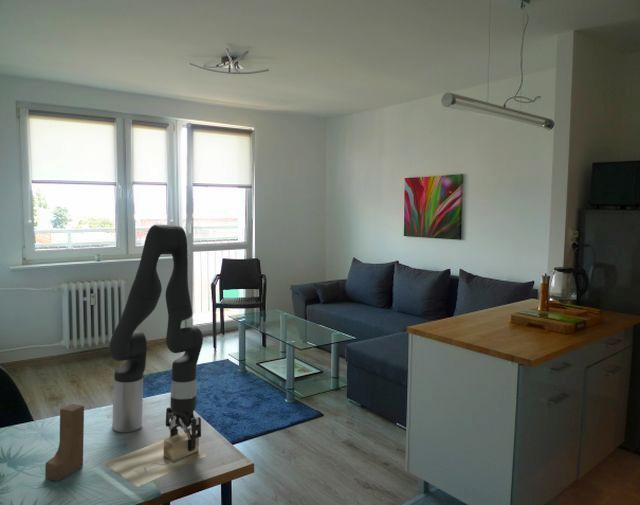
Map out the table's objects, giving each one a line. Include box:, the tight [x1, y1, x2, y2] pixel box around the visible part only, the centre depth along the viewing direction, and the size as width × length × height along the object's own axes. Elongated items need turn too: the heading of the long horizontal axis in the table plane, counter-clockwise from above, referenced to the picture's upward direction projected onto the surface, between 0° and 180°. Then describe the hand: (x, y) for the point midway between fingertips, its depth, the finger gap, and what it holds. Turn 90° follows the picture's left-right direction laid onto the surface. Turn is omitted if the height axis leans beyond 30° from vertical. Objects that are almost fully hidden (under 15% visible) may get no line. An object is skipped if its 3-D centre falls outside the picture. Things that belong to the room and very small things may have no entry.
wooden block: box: [44, 403, 85, 482], centre depth 131 cm, size 9×4×18 cm, turn 162°
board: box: [103, 439, 208, 488], centre depth 139 cm, size 18×23×1 cm
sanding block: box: [163, 431, 200, 463], centre depth 142 cm, size 5×9×6 cm, turn 142°
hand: (182, 445), depth 142 cm, fingers open, 8 cm apart
